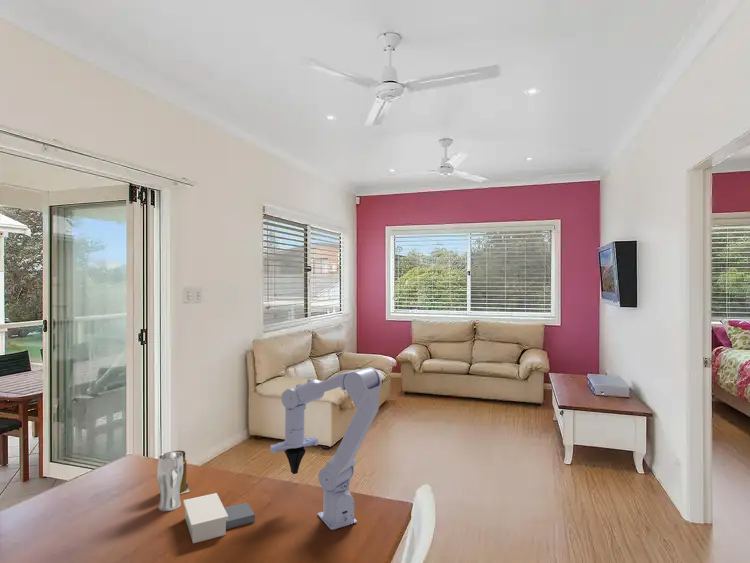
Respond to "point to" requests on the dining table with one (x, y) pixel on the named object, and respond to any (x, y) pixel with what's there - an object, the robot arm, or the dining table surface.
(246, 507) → the slate tile
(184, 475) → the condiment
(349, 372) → the robot arm
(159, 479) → the beer glass
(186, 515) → the white rectangular block
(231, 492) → the dining table surface
